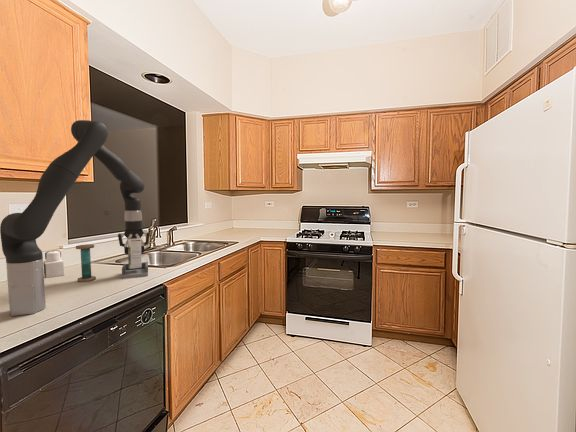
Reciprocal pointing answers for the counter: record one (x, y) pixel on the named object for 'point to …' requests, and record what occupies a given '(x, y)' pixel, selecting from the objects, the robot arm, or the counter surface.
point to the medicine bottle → (53, 264)
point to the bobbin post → (86, 263)
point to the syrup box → (134, 253)
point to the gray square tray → (135, 271)
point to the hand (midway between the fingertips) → (134, 253)
